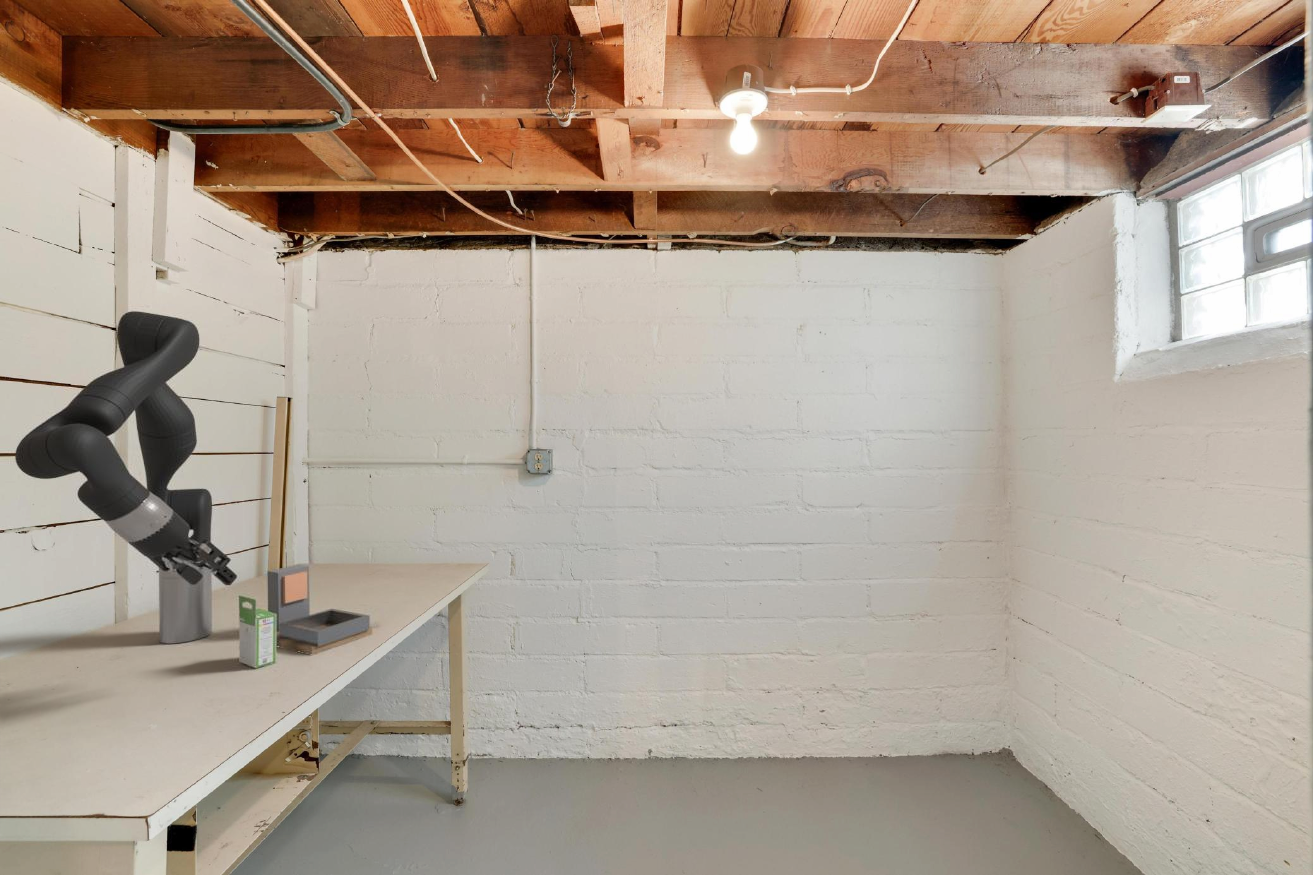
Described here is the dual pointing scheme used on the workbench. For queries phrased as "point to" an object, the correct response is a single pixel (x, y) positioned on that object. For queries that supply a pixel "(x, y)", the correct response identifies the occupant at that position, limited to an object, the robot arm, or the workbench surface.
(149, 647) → the workbench surface
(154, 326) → the robot arm
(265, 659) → the ink box
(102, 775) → the workbench surface
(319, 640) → the dark gray rectangular frame
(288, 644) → the walnut rail base
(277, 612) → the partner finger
